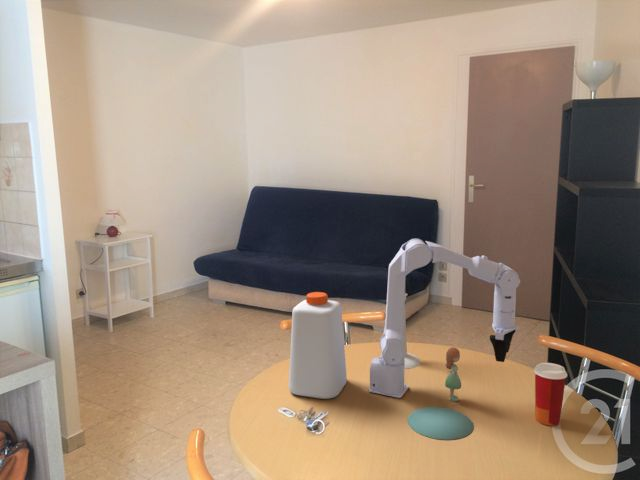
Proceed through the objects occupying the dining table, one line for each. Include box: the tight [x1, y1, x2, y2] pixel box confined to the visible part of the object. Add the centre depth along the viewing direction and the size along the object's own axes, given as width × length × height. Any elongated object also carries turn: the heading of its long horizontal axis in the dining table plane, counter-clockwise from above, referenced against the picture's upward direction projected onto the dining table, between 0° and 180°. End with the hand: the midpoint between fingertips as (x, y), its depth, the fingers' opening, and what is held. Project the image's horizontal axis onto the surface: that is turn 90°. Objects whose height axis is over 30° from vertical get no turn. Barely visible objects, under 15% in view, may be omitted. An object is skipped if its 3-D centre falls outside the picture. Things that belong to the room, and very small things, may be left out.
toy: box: [444, 346, 462, 402], centre depth 143 cm, size 13×4×15 cm, turn 168°
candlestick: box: [402, 275, 422, 370], centre depth 168 cm, size 13×13×30 cm
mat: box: [407, 406, 474, 441], centre depth 132 cm, size 16×16×1 cm
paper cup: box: [532, 362, 568, 427], centre depth 132 cm, size 8×8×14 cm
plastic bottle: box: [288, 291, 348, 400], centre depth 151 cm, size 15×15×28 cm
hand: (502, 356), depth 147 cm, fingers open, 7 cm apart
